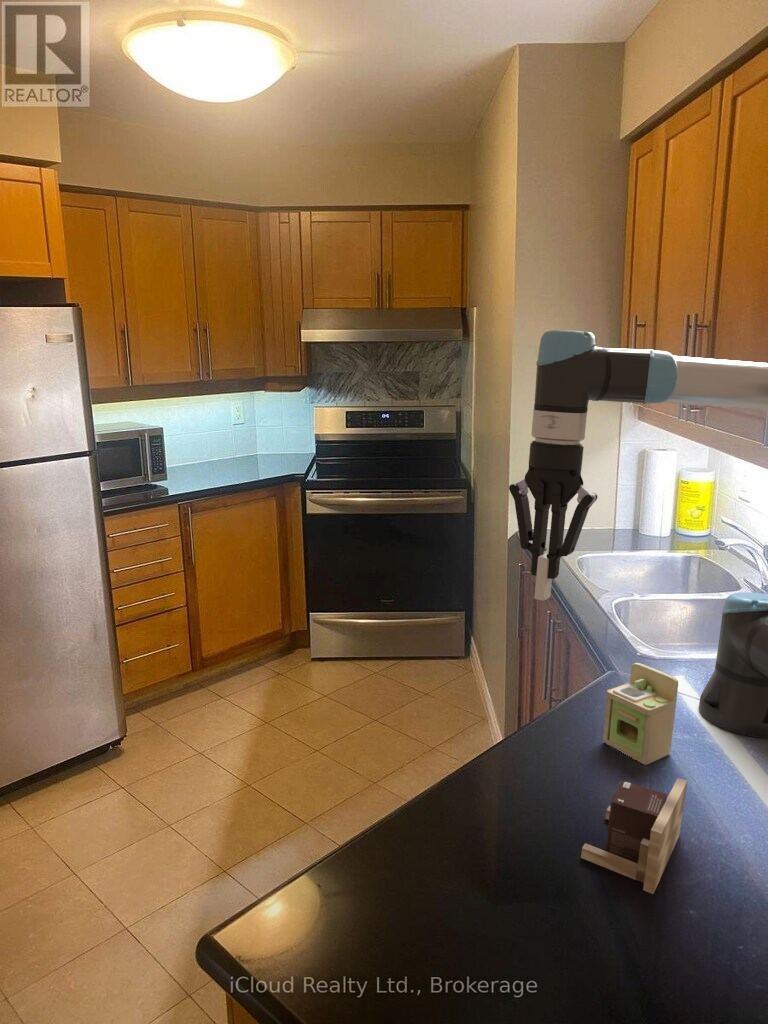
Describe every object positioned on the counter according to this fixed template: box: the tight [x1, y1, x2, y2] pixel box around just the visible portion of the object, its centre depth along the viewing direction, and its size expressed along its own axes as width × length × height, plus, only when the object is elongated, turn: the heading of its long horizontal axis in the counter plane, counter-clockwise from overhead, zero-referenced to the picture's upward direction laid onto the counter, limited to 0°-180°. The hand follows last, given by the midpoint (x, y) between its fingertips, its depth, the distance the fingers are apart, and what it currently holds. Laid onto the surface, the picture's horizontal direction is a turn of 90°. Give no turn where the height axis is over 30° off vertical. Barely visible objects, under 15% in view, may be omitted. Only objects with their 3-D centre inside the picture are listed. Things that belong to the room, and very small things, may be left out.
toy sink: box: [602, 662, 679, 766], centre depth 121 cm, size 8×7×13 cm
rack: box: [580, 777, 688, 895], centre depth 95 cm, size 14×9×8 cm, turn 147°
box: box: [604, 780, 668, 864], centre depth 96 cm, size 6×6×7 cm
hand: (542, 597), depth 112 cm, fingers closed
